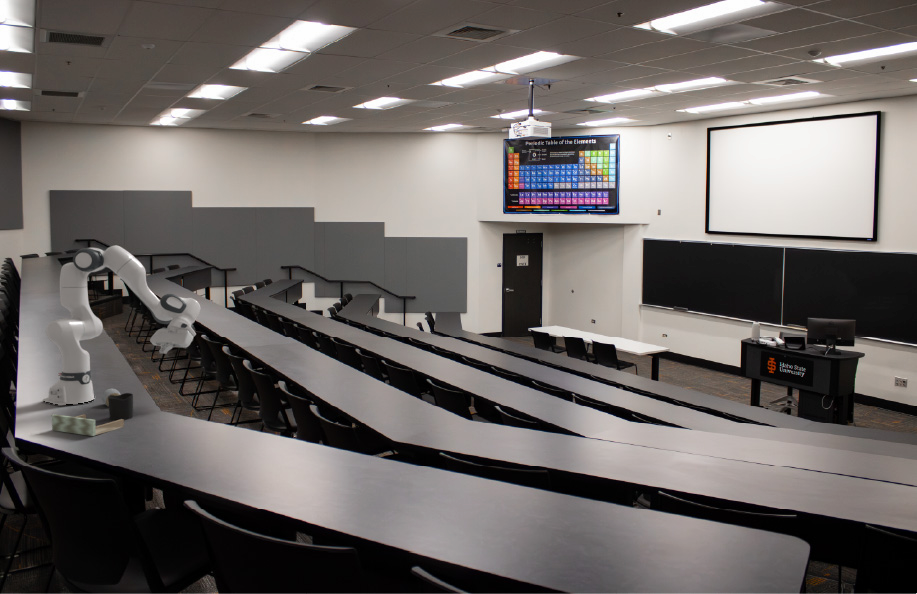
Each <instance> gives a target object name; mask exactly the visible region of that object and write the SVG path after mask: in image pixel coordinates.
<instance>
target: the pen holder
mask: <svg viewBox="0 0 917 594" xmlns="http://www.w3.org/2000/svg"><path fill="white" fill-rule="evenodd" d="M120 394H121V393H120ZM108 403H109V407H108V410H109V412H108V413H109V419H110V420H111V421H112V422H113V421H117V420H121V419H124V421H127V420H131V419H133V417H134V394H133V393H131V392H130V393H129V392H125V393H122V394H121V395H119V396H114V395H110V396H108Z"/></svg>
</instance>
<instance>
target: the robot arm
mask: <svg viewBox="0 0 917 594" xmlns="http://www.w3.org/2000/svg"><path fill="white" fill-rule="evenodd" d="M106 268H108V269H110V270H111V271H112V272H113V273H115V275H116V276H117V277H119V278H120V279H121V280H122V281H123V282H124V283H125V284H126V286H128V288H129V289H130V290H131V291H132V292H133V294H134V295H135V296H136V297H137V298H138V299H139V300H140V301H141V302H142V303H143V305H145V306H146V307H147V309H148V310H149V311H150V313H151V315H152V317H153V319H154V320H155V321H156V322H157V323H158V324H162V325H167V327H162V328H160V329H157V330H155V332H154V334H153V335H152V336H151V337H150V339H149V341H150V343H151V344H152V345H153V346H154V347H155V346H158V347H160V349H159V350H158V352H159V354H166V355H167V354H168V352H169V351H171V350H172V349H173V348H188V347H189V346H190V345H191V343H192V342H193V341H194V337H195V336H196V335H197V333H196V332H195V330H194V329H193V327H192V325H193V324H194V323H195V321H196V320H197V318H198V316H199V315H200V313H201V309H202V308H201V305H200V303H199V301H197V299H196V298H195V299H194V298H193V297H187V298H186V297H181V296H177V294H174V293H166V294H164V295H162V296H161V298H158V297H157V296H156V294H155V293H154V292H153V291H152V290H151V289H150V287H149V286H148V283H147V273H146V272H147V270H146V268H145V266H144V265H143V264H142V263H141V261H140V260H138V258H137V257H135V256H134V255H133V254H132V253H130V252H129V251H128V250H126V249H125V248H124V247H122V246H119V245H116V244H115V245H112V246H111V245H110V246H109V247H107V248H106V249H103V248H99V247H91V246H90V247H86V248H83V247H82V248H81V249H79V250H77V251H76V252H74V255H73V257H72V262H67V263H65V264H63V265H62V267H61V269H60V274H59V299H60V305H61V306H62V307H63V308H65V309H67V310H68V311H69V314H70V317H65V318H59V319H54V320H53V321H50V322H49V323H48V324H47V325H46V330H45V332H46V337H47V339H49V340H50V341H51V342H52V343H54V345H56V346H57V348H58V350H59V352H60V355H61V367H62V371H61V372H58V377H59V376H60V377H59V379H58V381H56V382H55V383H54V384H53V385H52V386H50V388H49V390H48V397H46V398H43V399H42V402H43V401H45V402H44V403H46V402H50V403H53V404H52V405H55V404H58V405H57V406H67V405H66V404H73V405H79V404H78V403H83V404H85V403H84V402H88V401H91V400H93V399H95V398H94V395H95V394H94V388H93V386H94V385H93V381H92V379H91V378H92V370H91V359H90V356H91V355H90V353H89V352H88V351H87V350H85V349H83V348H82V346H81V343H80V341H86V340H91V339H94V338H97V337H99V336H101V334H102V333H103V331H104V327H103V322H102V320H101V319H100V318H99V317H98V316H96V315H95V314H94V313H93V310H92V309H91V306H90V302H89V295H88V294H89V293H88V277H89V275H90V274H94V273H98V272H101V271H104V270H105V269H106ZM50 403H49V404H50ZM88 403H89V402H88Z"/></svg>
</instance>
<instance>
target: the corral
mask: <svg viewBox="0 0 917 594" xmlns="http://www.w3.org/2000/svg"><path fill="white" fill-rule="evenodd" d="M124 427H125V420H124V419H121V420H117V421H113V420H112V421H110V422H106V423H104V424H99V425H96V419H92V418H87V414H85V413H84V414H81V415H76V416H69V415H63V414H61V415H60V414H52V415H51V431H56V432H64V433H71V434H78V435H82V436H91V437H95V436H97V435H101V434H105V433H108V432H111V431H114V430H118V429H121V428H124Z"/></svg>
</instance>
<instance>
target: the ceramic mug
mask: <svg viewBox="0 0 917 594" xmlns="http://www.w3.org/2000/svg"><path fill="white" fill-rule="evenodd" d="M110 395H114V396H119V395H121V393H120V391H119V390H117V389H116V388H108V389H106V390H105V391H103V393H102V395H101V401H102V403H103V404H104V403H105V404H104V405H106V406H107V408H109V403H108V396H110Z"/></svg>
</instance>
